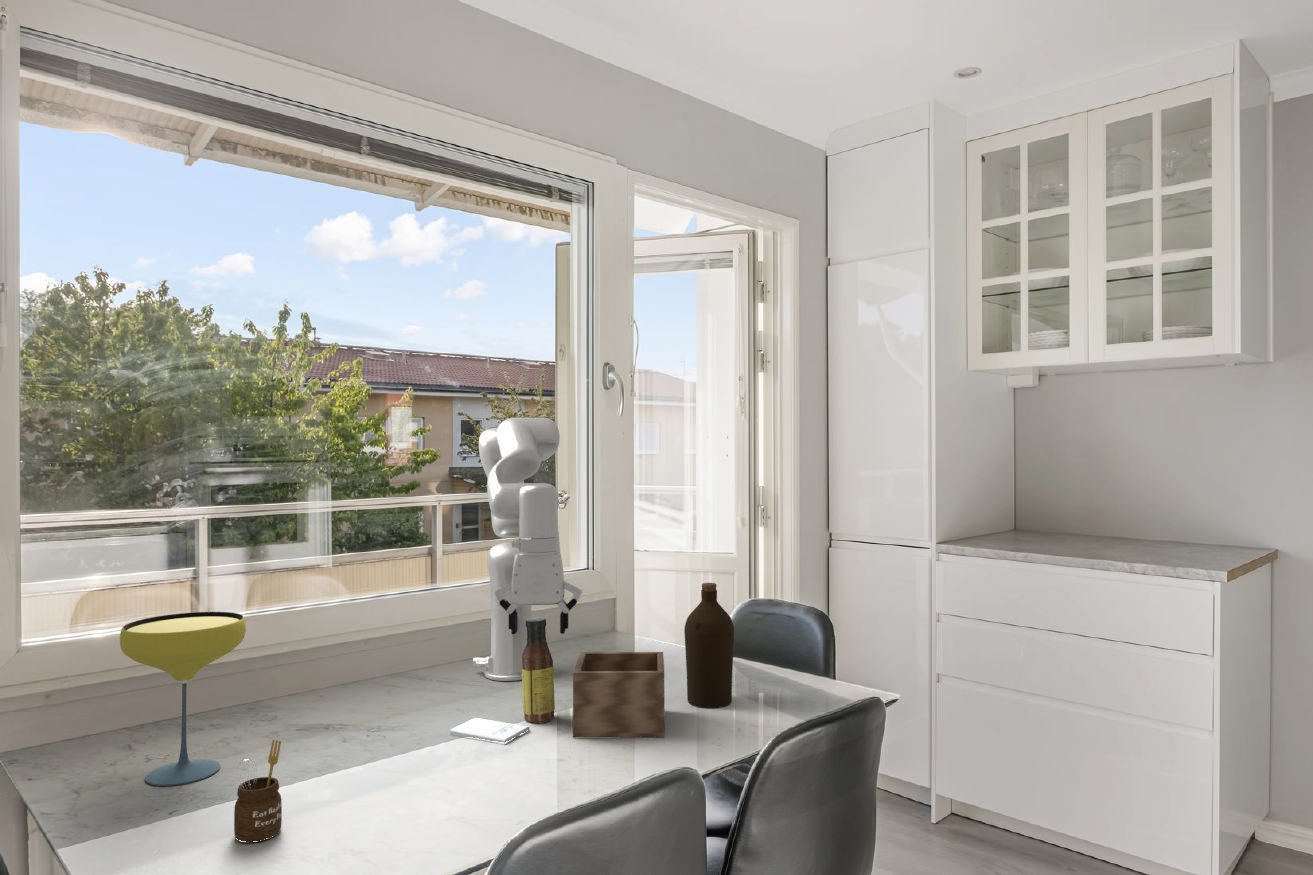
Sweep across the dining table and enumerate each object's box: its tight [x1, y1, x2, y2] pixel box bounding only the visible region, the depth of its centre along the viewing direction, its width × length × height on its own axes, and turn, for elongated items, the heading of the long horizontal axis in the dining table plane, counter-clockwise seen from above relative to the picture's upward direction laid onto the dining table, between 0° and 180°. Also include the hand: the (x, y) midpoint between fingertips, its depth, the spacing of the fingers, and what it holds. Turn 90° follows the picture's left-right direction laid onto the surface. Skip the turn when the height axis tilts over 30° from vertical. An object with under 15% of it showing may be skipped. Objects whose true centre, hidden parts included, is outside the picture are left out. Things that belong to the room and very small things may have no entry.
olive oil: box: [683, 582, 735, 709], centre depth 174 cm, size 11×11×25 cm
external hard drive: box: [449, 717, 530, 743], centre depth 154 cm, size 2×8×12 cm
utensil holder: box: [233, 739, 283, 842], centre depth 113 cm, size 6×6×12 cm
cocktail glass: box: [119, 611, 247, 787], centre depth 135 cm, size 18×18×25 cm
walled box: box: [572, 651, 666, 739], centre depth 160 cm, size 17×16×12 cm
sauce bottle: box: [521, 616, 556, 724], centre depth 163 cm, size 6×6×20 cm
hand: (538, 632), depth 162 cm, fingers open, 9 cm apart
